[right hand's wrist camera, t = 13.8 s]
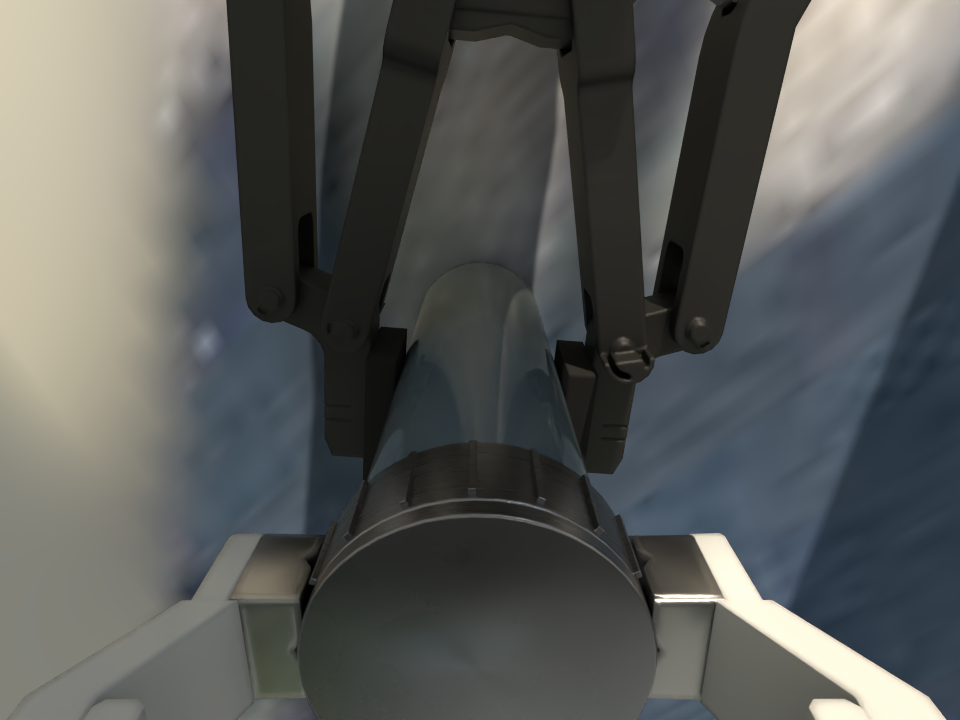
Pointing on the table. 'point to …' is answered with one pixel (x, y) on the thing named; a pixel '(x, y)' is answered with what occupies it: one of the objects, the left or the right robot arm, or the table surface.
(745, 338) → the table surface
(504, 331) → the blue gray cylinder
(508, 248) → the table surface
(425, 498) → the lid
